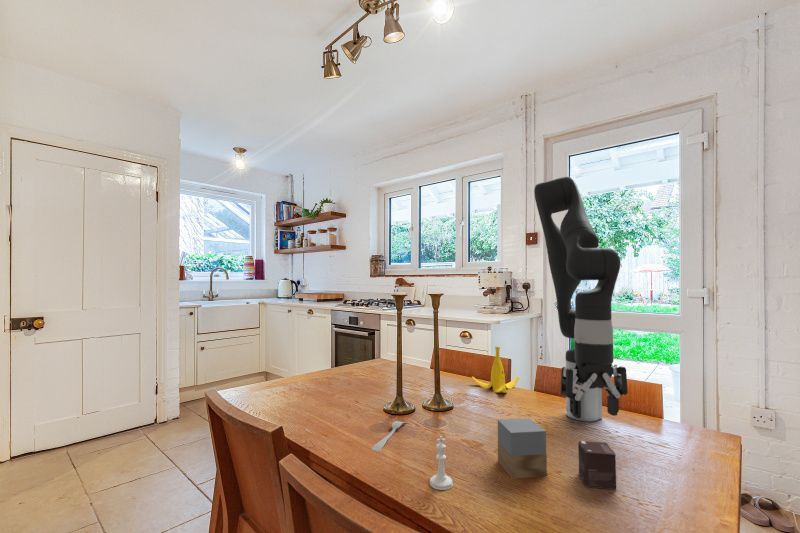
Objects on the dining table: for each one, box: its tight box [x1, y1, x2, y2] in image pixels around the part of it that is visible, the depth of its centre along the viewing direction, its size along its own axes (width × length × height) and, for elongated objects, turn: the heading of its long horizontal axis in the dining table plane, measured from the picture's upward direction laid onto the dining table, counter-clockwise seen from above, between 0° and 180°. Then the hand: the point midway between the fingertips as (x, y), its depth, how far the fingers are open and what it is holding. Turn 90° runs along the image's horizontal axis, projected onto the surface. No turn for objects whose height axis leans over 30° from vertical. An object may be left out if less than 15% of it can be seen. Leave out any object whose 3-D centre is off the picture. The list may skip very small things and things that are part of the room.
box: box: [577, 440, 617, 490], centre depth 83 cm, size 6×6×7 cm
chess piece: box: [429, 435, 454, 491], centre depth 83 cm, size 5×5×10 cm
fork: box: [371, 420, 407, 452], centre depth 108 cm, size 3×21×3 cm, turn 158°
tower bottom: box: [497, 440, 548, 480], centre depth 89 cm, size 8×8×5 cm
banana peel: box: [471, 345, 520, 394], centre depth 153 cm, size 16×19×17 cm
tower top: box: [497, 417, 547, 456], centre depth 89 cm, size 8×8×5 cm
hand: (594, 415), depth 84 cm, fingers open, 8 cm apart
